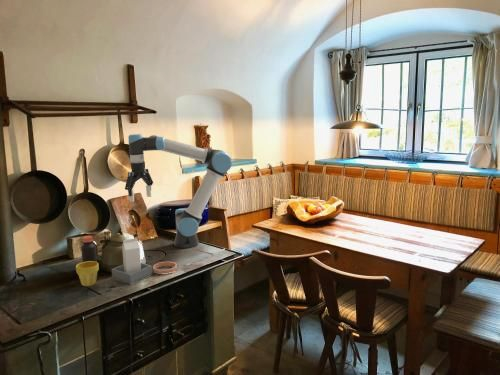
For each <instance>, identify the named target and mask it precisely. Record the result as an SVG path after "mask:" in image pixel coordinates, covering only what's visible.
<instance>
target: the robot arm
mask: <svg viewBox="0 0 500 375" xmlns="http://www.w3.org/2000/svg"><path fill="white" fill-rule="evenodd" d="M128 150H129V160H130V169H131V171H128V172H127V178H126V182H125V187H124V190H126V191H127V192H128V198H129V202H130V203H131V202H132V203H134V202H135V192H134V190H133V189H134V187H135V184H136V182H137V180H139V179H142V181H143V182H144V183H145V184H146V185H145V191H146V197H148V198H151V197H152V192H151V191H152V186H153V185H154V181H153V178H152V176H151V174H150V171H149V169H148V168H146V165H145V162H144V161H145V156H144V152H148V151H149V152H150V151H152V152H153V151H162V152H165V153H170V154H174V155H176V156H177V155H178V156H180V157H185V158H189V159H193V160H197V161H201V163H202V164H205V165H207V166H206V168H205V169H206V173H205V175H204V177H203V179H202V181H201V183H200V185H199V187H198V189H197V190H196V192H195V194H194V196H193V198H192V199H191V201H190V204H189V206H187V207H184V208H183V207H182V208H178V209H175V214H174V215H175V230H176V235H175V238H174V241H173V245H174V246H175V247H176V248H180V249H189V248H194V247H197V246H198V245H199V239H198V236H197V232H198V231H199V227H200V226H199V225H200V223H201V221H202V219H203V216H202V214H203V212H204V210H205V208H206V206H207V204H208V202H209V200H210V198H211V197H212V194H213V192H214V191H215V189H216V187H217V185H218V183H219V181H220V179H222V178H224V177H225V176H226V174H227V172H228V171H229V170H231V168H232V165H233V160H232V157H231V155H230V154H229V153H228V152H226V151H223V150H221V149H213V148H208V147H206V148H202V147H198V146H195V145H190V144H187V143H182V142H180V141H176V140H172V139H169V138H165V137H164V136H158V135H155V134H154V135H153V134H152V135H149V136H148V137H147V136H145V137H144V136H143V135H142V134H141V133H135V134H134V133H133V134H129V135H128Z"/></svg>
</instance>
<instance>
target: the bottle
mask: <svg viewBox="0 0 500 375" xmlns="http://www.w3.org/2000/svg"><path fill="white" fill-rule="evenodd" d="M81 238H82V239H81V242H82V246H80V247H81V248H80V251H81V258H82V259H81V260H82V262H87V261H95V262H97V251H96V250H97V249H96V245H95V244H94V243H93V242H94V240H93V235H85V236H83V237H81ZM82 262H81V263H82ZM98 271H99V270H98ZM98 271H97V273H99V272H98Z"/></svg>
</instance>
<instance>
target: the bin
mask: <svg viewBox="0 0 500 375" xmlns="http://www.w3.org/2000/svg"><path fill="white" fill-rule="evenodd" d="M149 275H151V276H153V266H152V265H150V264H146V263H143V262H141V270H139V271H137V272H134V273H132V274H128V273H125V272H124V264H121V265H119V266H116V267H114V268H111V277H112V278H113V280H115V279H116V281H118V280H119V282H121V281H122V282H121V283H125V282H126V283H125V284H128V283H130V284H129V285H132V284H131V283H133V282H136V281H138V280H140V279H142V278H145V277H147V276H149ZM149 277H150V276H149ZM112 278H111V279H112ZM147 278H148V277H147ZM145 279H146V278H145ZM142 280H143V279H142ZM140 281H141V280H140ZM138 282H139V281H138ZM136 283H137V282H136ZM133 284H134V283H133Z"/></svg>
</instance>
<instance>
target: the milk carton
mask: <svg viewBox="0 0 500 375" xmlns="http://www.w3.org/2000/svg"><path fill="white" fill-rule="evenodd" d="M121 248H122V249H121V250H122V261H123V262H122V263H123V265H124V272H125V273H128V274H132V273H134V272H137V271H139V270H141V263H142V261H141V250H140V248H141V247H140V245H139V240H138V238H137V237H136V238H135V237H134V238H128V239H124V240H122V245H121Z"/></svg>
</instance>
